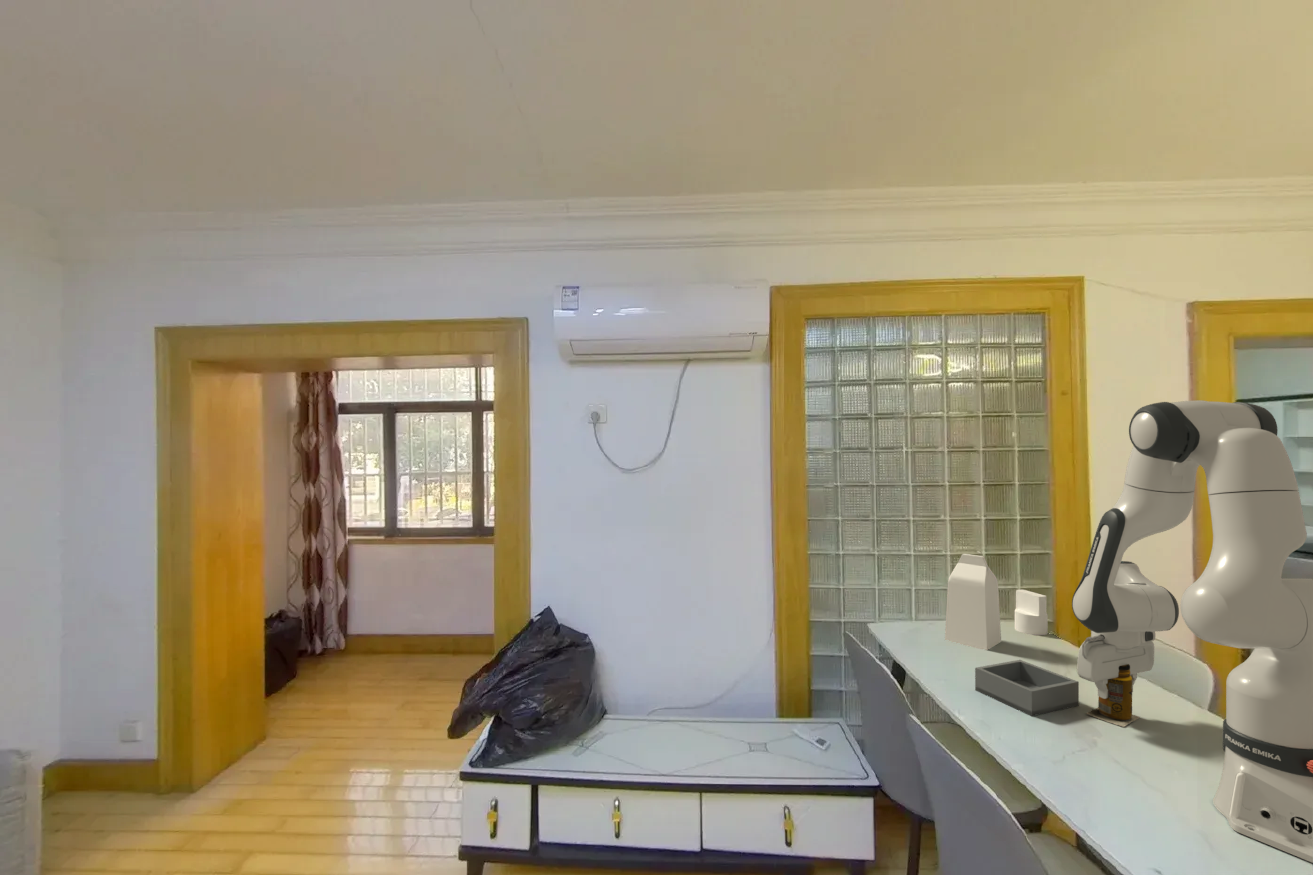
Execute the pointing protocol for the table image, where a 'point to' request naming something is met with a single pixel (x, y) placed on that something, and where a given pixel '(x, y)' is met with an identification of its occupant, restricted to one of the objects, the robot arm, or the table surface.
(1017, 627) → the base with upright slab
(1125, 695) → the condiment
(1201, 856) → the table surface
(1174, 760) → the table surface
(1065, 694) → the box
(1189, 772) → the table surface
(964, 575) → the milk
